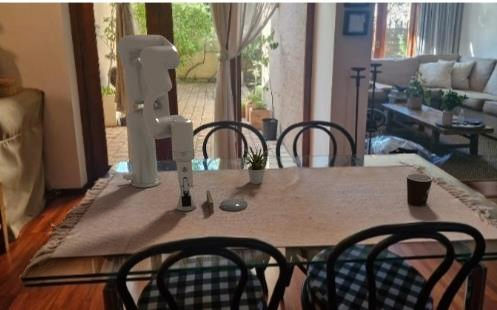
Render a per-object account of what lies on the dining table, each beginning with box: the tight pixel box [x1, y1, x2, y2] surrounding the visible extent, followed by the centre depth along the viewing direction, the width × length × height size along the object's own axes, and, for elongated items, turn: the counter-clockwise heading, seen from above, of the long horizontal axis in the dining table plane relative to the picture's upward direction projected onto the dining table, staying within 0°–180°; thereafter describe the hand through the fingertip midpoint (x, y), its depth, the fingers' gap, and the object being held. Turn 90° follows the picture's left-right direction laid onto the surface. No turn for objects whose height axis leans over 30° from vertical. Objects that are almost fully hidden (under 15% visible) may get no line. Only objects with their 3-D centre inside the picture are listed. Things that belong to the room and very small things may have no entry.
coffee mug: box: [406, 172, 433, 208], centre depth 154 cm, size 12×9×10 cm
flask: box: [176, 180, 197, 212], centre depth 152 cm, size 7×7×10 cm
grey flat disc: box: [219, 198, 248, 212], centre depth 154 cm, size 10×10×1 cm
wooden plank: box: [206, 189, 215, 214], centre depth 153 cm, size 1×12×4 cm, turn 11°
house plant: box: [239, 144, 272, 185], centre depth 176 cm, size 14×14×16 cm
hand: (186, 201), depth 153 cm, fingers open, 6 cm apart
